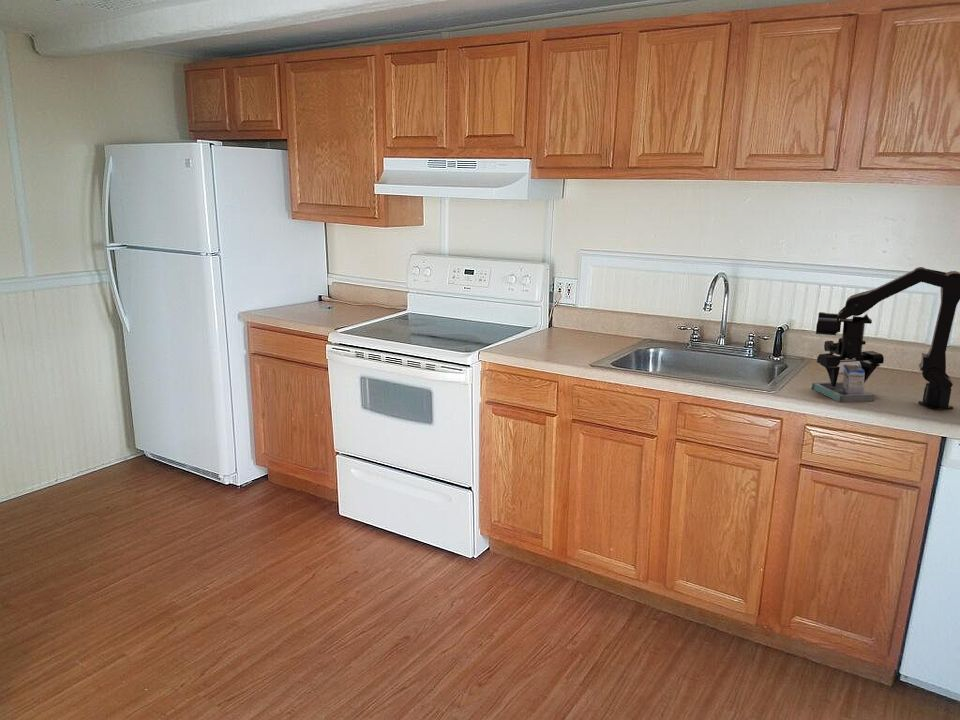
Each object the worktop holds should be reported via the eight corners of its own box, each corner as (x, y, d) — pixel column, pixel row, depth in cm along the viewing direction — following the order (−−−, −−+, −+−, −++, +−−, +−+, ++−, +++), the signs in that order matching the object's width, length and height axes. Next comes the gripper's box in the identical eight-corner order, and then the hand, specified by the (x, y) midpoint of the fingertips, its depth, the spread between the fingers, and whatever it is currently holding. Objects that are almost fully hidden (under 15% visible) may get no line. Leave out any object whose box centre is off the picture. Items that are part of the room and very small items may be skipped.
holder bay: (873, 401, 215) (874, 394, 215) (839, 402, 214) (840, 396, 213) (844, 387, 229) (844, 381, 229) (811, 388, 228) (812, 382, 227)
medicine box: (842, 390, 226) (843, 364, 224) (858, 390, 225) (858, 363, 223) (848, 397, 219) (848, 370, 217) (864, 397, 218) (865, 370, 216)
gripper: (864, 329, 226) (858, 376, 230) (809, 332, 224) (804, 380, 228) (887, 337, 215) (881, 386, 219) (830, 340, 213) (825, 390, 217)
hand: (847, 385), depth 221 cm, fingers open, 9 cm apart
